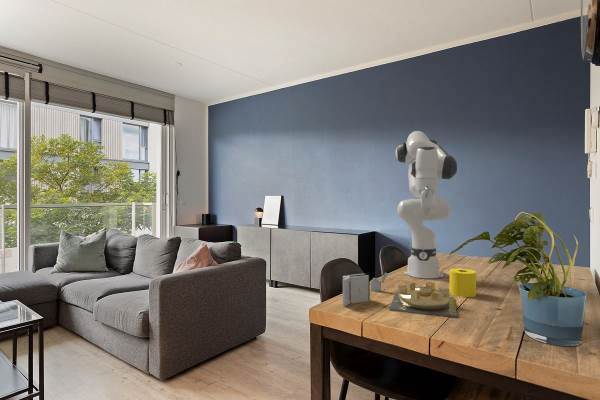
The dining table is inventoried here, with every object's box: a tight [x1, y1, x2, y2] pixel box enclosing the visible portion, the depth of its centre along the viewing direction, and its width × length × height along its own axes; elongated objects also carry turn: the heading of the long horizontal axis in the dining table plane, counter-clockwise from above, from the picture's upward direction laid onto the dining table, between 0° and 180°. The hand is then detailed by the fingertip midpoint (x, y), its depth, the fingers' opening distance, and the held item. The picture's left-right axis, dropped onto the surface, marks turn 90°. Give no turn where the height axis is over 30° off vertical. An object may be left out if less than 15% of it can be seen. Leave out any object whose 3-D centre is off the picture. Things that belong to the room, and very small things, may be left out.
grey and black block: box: [342, 273, 371, 308], centre depth 134 cm, size 14×5×10 cm, turn 124°
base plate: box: [389, 291, 458, 319], centre depth 130 cm, size 22×22×1 cm
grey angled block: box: [370, 272, 389, 292], centre depth 149 cm, size 7×2×8 cm, turn 68°
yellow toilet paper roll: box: [449, 267, 477, 298], centre depth 144 cm, size 10×10×9 cm
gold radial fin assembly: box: [397, 280, 450, 310], centre depth 130 cm, size 18×18×6 cm
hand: (426, 220), depth 141 cm, fingers closed
